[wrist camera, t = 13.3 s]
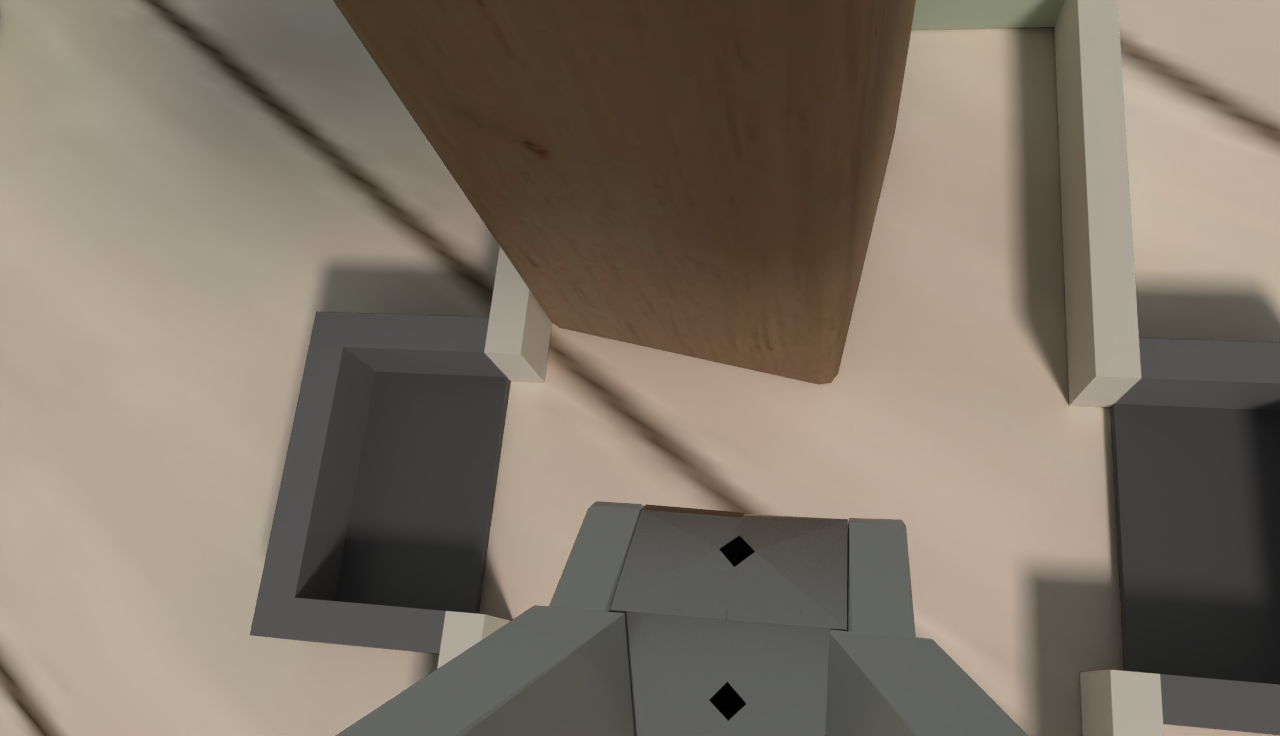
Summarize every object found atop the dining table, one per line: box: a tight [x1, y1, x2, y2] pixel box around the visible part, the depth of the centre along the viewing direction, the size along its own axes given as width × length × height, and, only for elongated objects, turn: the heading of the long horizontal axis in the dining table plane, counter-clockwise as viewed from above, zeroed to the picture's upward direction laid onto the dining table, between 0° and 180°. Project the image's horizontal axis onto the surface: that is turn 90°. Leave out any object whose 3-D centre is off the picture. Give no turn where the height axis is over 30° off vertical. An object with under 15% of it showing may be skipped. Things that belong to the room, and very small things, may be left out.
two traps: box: [250, 312, 1280, 735], centre depth 30 cm, size 10×31×3 cm, turn 85°
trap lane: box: [437, 0, 1164, 736], centre depth 29 cm, size 37×19×5 cm, turn 175°
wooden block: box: [333, 0, 916, 384], centre depth 25 cm, size 10×10×20 cm
